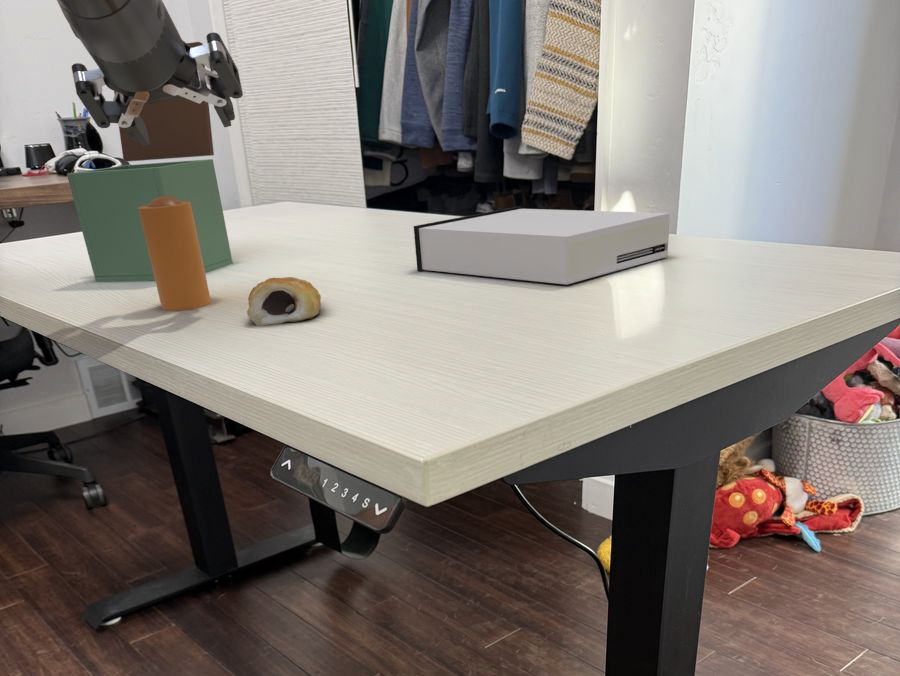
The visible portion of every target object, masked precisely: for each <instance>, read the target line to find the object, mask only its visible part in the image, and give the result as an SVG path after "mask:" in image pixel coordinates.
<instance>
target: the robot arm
mask: <svg viewBox="0 0 900 676" xmlns="http://www.w3.org/2000/svg"><path fill="white" fill-rule="evenodd" d="M163 1H164V0H56V2H57V4H58V5H59V8H60V10H61V12H62V14H63V17H64V18H65V20H66V21H67V23H68V24H69V25H68V26H69V27H70V29H71V31H72V33H73V35H74V36H75V37H76V38H77V39H78V40H79V41H80V42H81V44H82V45H83V47H84V48H85V50H86V51H87V53H88V54H89V55H90V57H91V59H93V61H94V63H95V64H96V65H97V66H98V68H95V69H87V67H86V65H84V64H83V63H80V62H79V63H78V62H76V63H73V64H72V65H71V72H72V77H73V82H74V88H75V92H76V96H77V97H78V99H79V100H80V102H81V104H82V105H83V106H84V108H85V109H86V110H87V112H88V114H89V115H90V117H91V118H92V120H93V121H94V123H95V124H96V126H97V127H98V128H100V129H109V128H110V127H111V124H117V125H118V127H119V126H120V127H122V128H124V129H125V131H126V132H127V133H128V135H129V136H130V138H131V139H132V140H133V141H135V142H138V141H139V142H140V143H141V145H142V146H145V145H149V144H150V143H149V138H148V133H147V128H146V125H145V123H144V122H143V120H142V119H141V117H140V116H139V113H140V111H141V109H142V107H143V105H144V103H145V102H148V103H149V104H154V103H158V102H160V101H162V100H165V99H176V98H181V97H184V98H186V99H189V100H191V101H194V102H196V103H201V102H202V101H205V102H208V103H209V105H213V108H214V110H215V112H216V114H217V117H218V119H219V120H220V121H221V124H222V125H223V128H229V127H232V122H231V121H234V120H235V119H236V115H235V111H234V109H235V108H234V104H233V102H232V99H236V100H237V99H241V98H242V97H243V96H244V93H243V88H242V83H241V78H240V73H239V69H238V67H237V64H236V63H235V61H234V59H233V58H232V55H231V54H230V52H229V50H228V49H227V48H228V47H226V45H225V43H224V41H223V39H222V37H221V35H220V34H219V33H217V32H215V31H214V32H209V33H208V34H206V43H204V44H203V45H200V46H197V47H193V48H192V47H191V46H190V45H189V44H187V43H188V42H186V41H184V40H183V38H182V37H181V35H180V33H179V31H178V28H177V26H176V24H175V23H174V20H173V19H172V17H171V15H170V13H169V11H168V9H167V7H166V5H165V4H164V2H163ZM202 64H204V65H205V68H204V67H203V65H202ZM190 82H191V83H192V86H191V85H189V84H190ZM206 84H207V85H206ZM104 86H106V87H107V88H108V89H110V90H111V91H113V92H114V91H116V93H115V94H114V96H113V99H112V100H106V98H105V96H104V95H103V87H104ZM208 86H209V87H208ZM231 98H232V99H231Z"/></svg>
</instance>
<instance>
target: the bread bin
mask: <svg viewBox="0 0 900 676" xmlns="http://www.w3.org/2000/svg"><path fill="white" fill-rule="evenodd" d="M216 173H217V172H216V169H215V163H214V158H210V159H209V158H208V159H197V160H181V161H180V160H179V161H168V162H152V163H139V164H138V163H137V164H124V165H117V166H112V167H111V166H110V167H104V168H97V169H89V170H83V171H74V172H68V173H66V177H67V180H68V184H69V188H70V192H71V196H72V199H73V203H74V206H75V210H76V213H77V217H78V221H79V224H80V229H81V233H82V236H83V240H84V243H85V247H86V251H87V255H88V258H89V262H90V266H91V270H92V273H93V277H94V282H96V283H118V282H119V283H120V282H124V283H125V282H127V283H128V282H156V281H155V277H154V273H153V268H152V264H151V260H150V256H149V252H148V247H147V243H146V239H145V235H144V230H143V226H142V222H141V218H140V213H139V209H138V208H139V207H142V206H147V205H148V204H149V203H150V202H151V201H152V200H153V199H155V198H158V197H162V196H169V197H173V198H176V199H178V200H179V201H181V202H190V203H191V207H192V212H193V217H194V222H195V227H196V231H197V236H198V241H199V246H200V251H201V256H202V260H203V265H204V270H205V274H207V273H210V272H212V271H213V272H214V271H215V270H219V269H222V268H224V267H227V266H230V265H233V264H234V262H233V259H232V258H233V257H232V252H231V246H230V242H229V241H230V240H229V236H228V231H227V225H226V221H225V215H224V210H223V204H222V200H221V195H220V194H221V193H220V189H219V184H218V180H217V179H218V178H217V174H216Z"/></svg>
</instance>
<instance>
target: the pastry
mask: <svg viewBox="0 0 900 676" xmlns="http://www.w3.org/2000/svg"><path fill="white" fill-rule="evenodd" d="M247 299H248V309H247V312H246V315H247V316H248V318H249V319H250V320H251V322H252V323H254V325H255V326H271V325H272V326H273V325H280V324H283V323H286V322H287V323H288V322H291V323H298V322H300V321H305V320H306V319H307V320H312V319H313V318H314V317H316V316H317V315H319V312H321V305H322V304H321V299H322V297H321V294H320V293H319V291H318V289H317V288H316V287H315V286H313V285H312V283H311V282H310V281H307V280H305V279H300V278H297V277H293V276H287V277H269V278H268V279H265V280H264V281H260V282H259V283H257V284H256V286H254V287H253V288H252V289H251V291H250V293H249V294H248V298H247Z"/></svg>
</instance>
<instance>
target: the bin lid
mask: <svg viewBox="0 0 900 676" xmlns="http://www.w3.org/2000/svg"><path fill="white" fill-rule="evenodd" d="M186 43H187V44H189V45H190V46H191V47H192V48H193V47H197V46H200V45H204V44H203V43H202V42H200V41H195V42H186ZM202 65H203V67H204V68H205V69H206V65H204V64H202ZM189 85H191V86H192V83H191V82H190V84H189ZM206 85H207V86H208V84H206ZM113 93H114V94H113V95H115V93H116V91H113ZM210 113H211V112H210V103H208V102H205V101H202V102H201V103H196V102H194V101H191V100H189V99H186V98H184V97H181V98H176V99H165V100H162V101H160V102H158V103H154V104H149V103H148V102H145V103H144V105H143V107H142V109H141V111H140V113H139V116H140V117H141V119H142V120H143V122H144V123H145V125H146V128H147V133H148V138H149V143H150V144H149V145H145V146H142V145H141V143H140V142H139V141H138V142H135V141H133V140H132V139H131V138H130V136H129V135H128V133H127V132H126V131H125V129H124V128H122V127H120V126H119V125H118V128H119V129H118V131H119V139H120V146H121V151H122V152H121V154H122V159H123V162H126V163H129V162H142V161H143V162H145V161H156V160H157V161H158V160H171V159H183V158H195V157H196V158H198V157H209V156H210V157H212V156H215V153H214V152H215V151H214V142H213V132H212V124H211V114H210Z"/></svg>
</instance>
